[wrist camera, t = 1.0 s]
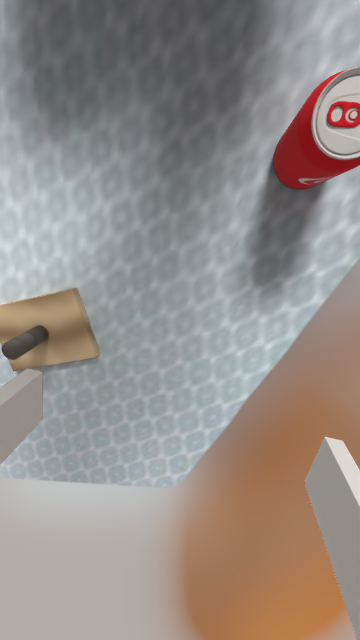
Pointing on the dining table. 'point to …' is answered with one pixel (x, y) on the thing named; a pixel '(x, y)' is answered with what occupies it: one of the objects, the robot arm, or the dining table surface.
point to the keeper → (46, 331)
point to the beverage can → (322, 134)
